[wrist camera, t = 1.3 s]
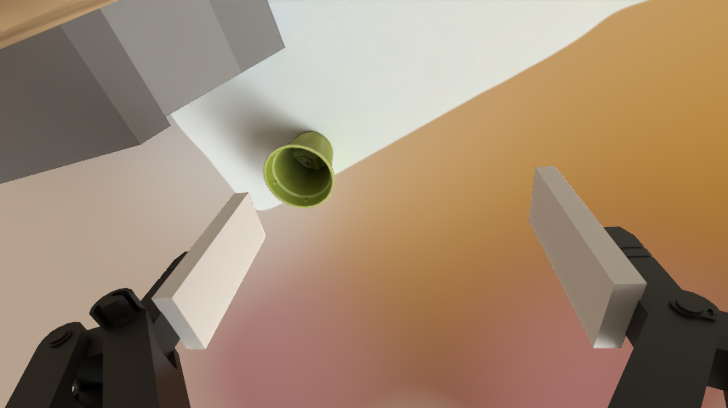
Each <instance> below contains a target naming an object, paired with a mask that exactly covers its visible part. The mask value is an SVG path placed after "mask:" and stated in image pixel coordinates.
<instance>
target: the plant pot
mask: <svg viewBox="0 0 728 408" xmlns="http://www.w3.org/2000/svg"><path fill="white" fill-rule="evenodd" d="M311 152H313V153H311ZM302 159H303V160H305V161H306V162H308V163H310V164H309V165H308V164H306V163H304V162H303V161H302ZM332 159H333V150H332V147H331V144H330V142H329V141H328V140H327V138H325V137H324V136H323V135H321V134H319V133H316V132H307V133H302V134H300V135H299V136H298V137H297V138H295V139H294V140H293V141H292V142H291V143H290V144H288V145H284V146H281V147H279V148H277V149H275V150H274V151H273V152H272V153H271V154H270V155H269V156H268V158H267V159H266V161H265V164H264V179H265V182H266V185H267V187H268V188H269V190H270V191H271V192H272V193H273V195H274V196H275V197H276V198H278V199H279V200H280V201H282V202H284V203H285V204H288V205H290V206H293V207H297V208H312V207H316V206H318V205H321V204H322V203H324V202H325V201H326V200H327V199H328V198H329V197H330V195H331V194H332V191H333V188H334V184H335V177H334V172H333V169H332ZM323 161H324V162H323Z"/></svg>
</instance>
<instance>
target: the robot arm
mask: <svg viewBox="0 0 728 408" xmlns="http://www.w3.org/2000/svg"><path fill="white" fill-rule="evenodd" d="M529 221H530V223H531V225H532V227H533V229H534V231H535V233H536V235H537V237H538V239H539V241H540V243H541V245H542V247H543V249H544V251H545V253H546V255H547V257H548V259H549V261H550V263H551V265H552V267H553V269H554V271H555V273H556V275H557V277H558V279H559V281H560V283H561V285H562V287H563V289H564V291H565V293H566V295H567V297H568V299H569V301H570V303H571V305H572V307H573V309H574V311H575V313H576V315H577V317H578V318H579V320H580V323H581V325H582V327H583V328H584V331H585V332H586V334H587V336H588V339H589V340H590V342H591V344H592V346H593V348H621V347H622V344H623V342H624V339H625V337H626V336H627V338H628V339H629V341H630V342H631V344H632V346H633V347H634V349H633V351H632V353H631V355H630V358H629V360H628V362H627V365H626V367H625V369H624V371H623V374H622V376H621V378H620V381H619V383H618V385H617V388H616V390H615V392H614V394H613V397H612V399H611V401H610V404H609V406H608V408H701V406H702V402H703V398H704V394H705V390H706V386H709V387H713V388H717V389H720V390H723V392H724V397H725V402H726V407H727V408H728V313H727V312H723V311H719V309H718V308H717V307H716V306H715V305H714V304H713V303H711V302H710V301H709V300H707V299H706V298H704V297H701V296H699V295H697V294H695V293H693V292H689V291H685V290H682V289H681V288H680V287H679V286H678V285H677V284H676V282H675V281H674V280H673V279H672V278H671V277H670V275H669V274H668V273H667V272H666V271H665V270H664V269H663V267H662V266H661V265H660V264H659V263H658V262H657V261H656V260H655V259H654V258H653V257H652V255H651V254H650V253H649V252H648V250H647V249H645V248H644V246H643V245H642V244H641V243H640V242H639V240H638V239H637V238H636V237H635V236H634V235H633V234H631V233H629V232H627V231H626V230H624V229H623V228H621V227H602V225H601V224H600V223H599V222H598V220H597V219H596V218H595V216H594V215H593V214H592V213H591V211H590V210H589V209H588V208H587V206H586V205H585V204H584V203H583V201H582V200H581V199H580V197H579V196H578V195H577V193H576V192H575V191H574V190H573V188H572V187H571V186H570V185H569V183H568V182H567V181H566V179H565V178H564V177H563V176H562V174H561V173H560V172H559V171H558V169H557V168H556V167H555V166H551V167H540V168H535V177H534V185H533V192H532V200H531V208H530V216H529ZM265 237H266V235H265V233H264V230H263V228H262V225H261V223H260V220H259V218H258V215H257V212H256V210H255V207H254V205H253V202H252V200H251V197H250V195H249V192H247V193H235V194H234V195H233V196H232V197H231V198H230V200H229V201H228V202H227V204H226V205H225V206H224V207H223V208H222V210H221V211H220V212H219V214H218V215H217V216H216V217H215V219H214V220H213V221H212V222H211V224H210V225H209V226H208V227H207V229H206V230H205V231H204V233H203V234H202V235H201V236H200V238H199V239H198V240H197V242H196V243H195V244H194V245H193V247H192V248H191V249H190V250H189V251H188V252H184V253H183V254H182V255H180V256H179V257H178V258H176V259H175V260H174V261H173V262H172V263H171V265H170V266H169V267H168V268H167V271H165V272H164V273H163V275H162V276H161V278H160V279H158V281H157V282H156V283H155V284H154V285H153V287H152V288H151V289H150V290H149V292H148V293H147V294H146V295H145V296H144V298H143V299H142V300H141V301H140V300H139V299H138V298H137V296H136V295H135V294H134V292H133V291H132V290H131V289H128V288H123V289H118V290H115V291H112V292H110V293H109V294H107V295H105V296H103V297H102V298H101V299H100V300H98V301H97V302H96V303H95V304H94V305H93V307H92V308H91V310H90V315H91V316H92V317H93V319H94V320H95V321H96V322H97V323H98V324H99V325H100V327H97V328H93V329H90V330H86V328H84V326H83V325H82V324H81V323H80V322H72V323H67V324H65V325H63V326H61V327H59V328H57V329H55V330H53V331H52V332H51V333H49V334H48V336H46V337H45V338H44V339H43V340H42V342H41V343H40V344H39V345H38V347H37V349H36V351H35V353H34V355H33V356H32V358H31V360H30V362H29V364H28V366H27V368H26V370H25V371H24V373H23V375H22V377H21V379H20V381H19V383H18V384H17V386H16V388H15V390H14V392H13V394H12V396H11V397H10V399H9V401H8V403H7V405H6V407H5V408H191V407H190V403H189V398H188V394H187V390H186V385H185V380H184V376H183V372H182V367H181V363H180V358H179V354H178V352H177V351H176V349H175V346H176V345H177V343H178V341H179V340H181V341H182V343H183V344H184V345H185V347H186V348H187V349H206V347H207V345H208V343H209V341H210V340H211V338H212V336H213V334H214V332H215V330H216V328H217V327H218V324H219V323H220V321H221V319H222V317H223V315H224V314H225V312H226V310H227V308H228V306H229V304H230V302H231V301H232V299H233V297H234V295H235V293H236V291H237V289H238V288H239V285H240V284H241V282H242V280H243V278H244V276H245V274H246V273H247V271H248V269H249V267H250V265H251V263H252V261H253V260H254V258H255V256H256V254H257V252H258V250H259V248H260V247H261V245H262V243H263V241H264V239H265ZM72 387H74V390H73V392H72Z"/></svg>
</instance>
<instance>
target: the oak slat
mask: <svg viewBox="0 0 728 408" xmlns="http://www.w3.org/2000/svg"><path fill="white" fill-rule="evenodd" d="M116 1H118V0H0V49H2V48H4V47H7V46H9V45H12V44H14V43H16V42H19V41H21V40H24V39H26V38H29V37H31V36H33V35H36V34H38V33H41V32H43V31H46V30H48V29H50V28H53V27H55V26H58V25H60V24H63V23H65V22H67V21H70V20H72V19H75V18H77V17H80V16H82V15H84V14H87V13H89V12H92V11H94V10H97V9H99V8H101V7H104V6H106V5H109V4H111V3H113V2H116Z"/></svg>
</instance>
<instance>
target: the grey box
mask: <svg viewBox="0 0 728 408" xmlns="http://www.w3.org/2000/svg"><path fill="white" fill-rule="evenodd" d="M283 48H285V46H284V43H283V41H282V38H281V36H280V33H279V30H278V28H277V25H276V22H275V20H274V17H273V14H272V12H271V9H270V7H269V4H268V1H267V0H118V1H116V2H113V3H111V4H109V5H106V6H104V7H101V8H99V9H97V10H94V11H92V12H89V13H87V14H84V15H82V16H80V17H77V18H75V19H72V20H70V21H67V22H65V23H63V24H60V25H58V26H55V27H53V28H50V29H48V30H46V31H43V32H41V33H38V34H36V35H33V36H31V37H29V38H26V39H24V40H21V41H19V42H16V43H14V44H12V45H9V46H7V47H4V48H2V49H0V184H1V183H4V182H8V181H12V180H15V179H19V178H23V177H26V176H30V175H33V174H37V173H40V172H44V171H48V170H51V169H55V168H58V167H62V166H65V165H69V164H73V163H76V162H80V161H83V160H87V159H90V158H94V157H98V156H101V155H105V154H109V153H112V152H116V151H119V150H123V149H126V148H130V147H134V146H137V145H140V144H142V143H144V142H145V141H147V140H149V139H150V138H152V137H153V136H155V135H156V134H158V133H160V132H161V131H163V130H164V129H166V128H168V127H169V126H171V125H170V124H169V122H168V120H167V118H166V116H168V115H169V114H171V113H173V112H175V111H176V110H178V109H180V108H181V107H183V106H185V105H187V104H188V103H190V102H192V101H194V100H195V99H197V98H199V97H200V96H202V95H204V94H206V93H207V92H209V91H211V90H213V89H214V88H216V87H218V86H219V85H221V84H223V83H225V82H226V81H228V80H230V79H232V78H233V77H235V76H237V75H238V74H240V73H242V72H244V71H245V70H247V69H249V68H251V67H252V66H254V65H256V64H257V63H259V62H261V61H263V60H264V59H266V58H268V57H270V56H271V55H273V54H275V53H276V52H278V51H280V50H282V49H283Z"/></svg>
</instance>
